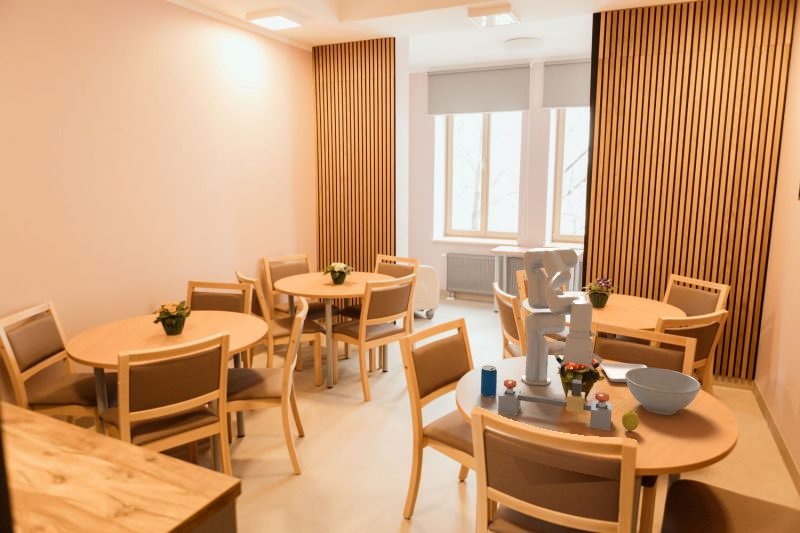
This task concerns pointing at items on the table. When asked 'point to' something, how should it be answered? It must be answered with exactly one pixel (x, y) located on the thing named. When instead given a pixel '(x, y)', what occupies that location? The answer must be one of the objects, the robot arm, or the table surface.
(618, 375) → the salad plate
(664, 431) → the table surface
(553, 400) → the slide rail
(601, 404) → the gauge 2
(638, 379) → the decorative bowl
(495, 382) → the beverage can
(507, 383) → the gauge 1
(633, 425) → the lemon
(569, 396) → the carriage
